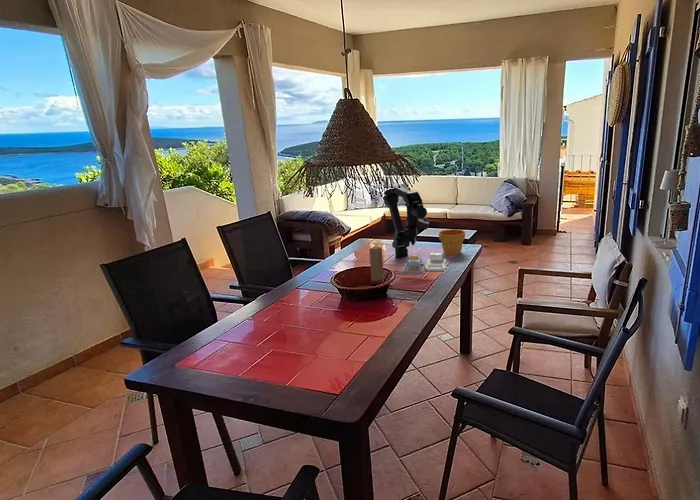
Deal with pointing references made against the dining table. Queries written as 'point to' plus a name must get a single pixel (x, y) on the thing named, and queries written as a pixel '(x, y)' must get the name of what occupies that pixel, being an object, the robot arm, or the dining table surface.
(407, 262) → the grey square frame
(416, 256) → the button
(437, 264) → the white divided tray
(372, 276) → the wooden block
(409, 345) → the dining table surface
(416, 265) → the billet
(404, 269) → the tray
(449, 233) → the flower pot
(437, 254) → the block
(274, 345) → the dining table surface
